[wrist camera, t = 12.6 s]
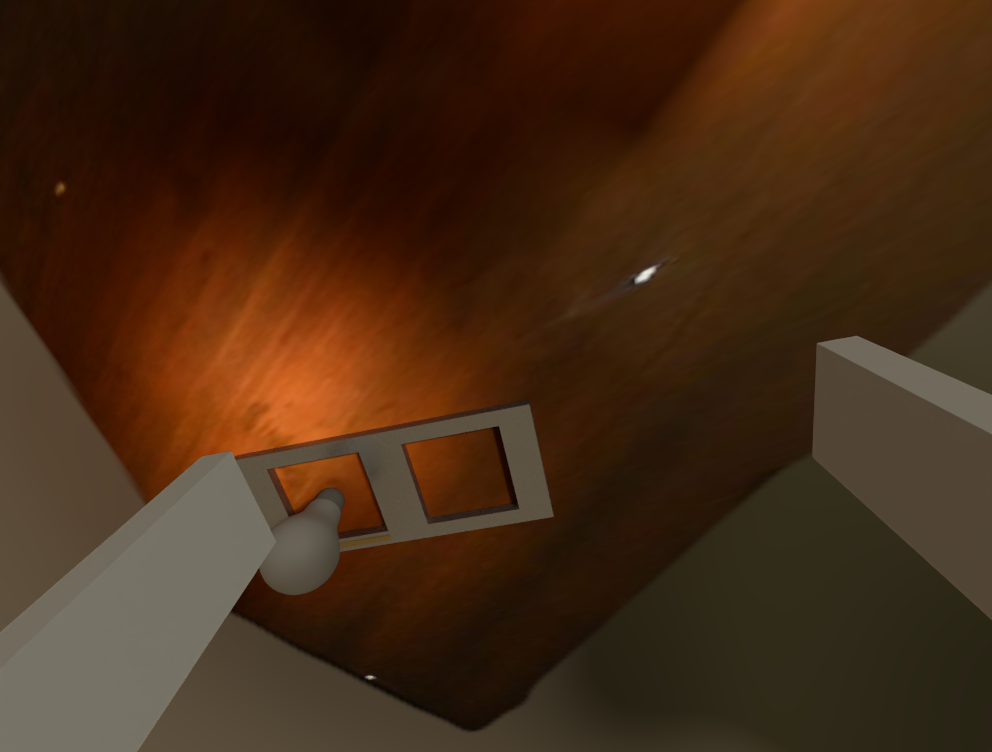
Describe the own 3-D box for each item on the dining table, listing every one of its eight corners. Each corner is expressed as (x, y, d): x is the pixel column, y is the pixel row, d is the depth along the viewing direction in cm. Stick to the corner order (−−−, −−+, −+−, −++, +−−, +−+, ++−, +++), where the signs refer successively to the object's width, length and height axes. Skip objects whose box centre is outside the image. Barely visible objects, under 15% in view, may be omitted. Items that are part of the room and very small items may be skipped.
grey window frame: (235, 455, 44) (229, 461, 43) (528, 399, 41) (529, 404, 40) (284, 554, 48) (279, 562, 47) (552, 510, 45) (553, 517, 44)
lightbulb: (350, 460, 43) (302, 542, 33) (375, 511, 46) (337, 603, 35) (292, 475, 44) (227, 560, 34) (319, 526, 46) (266, 619, 36)
